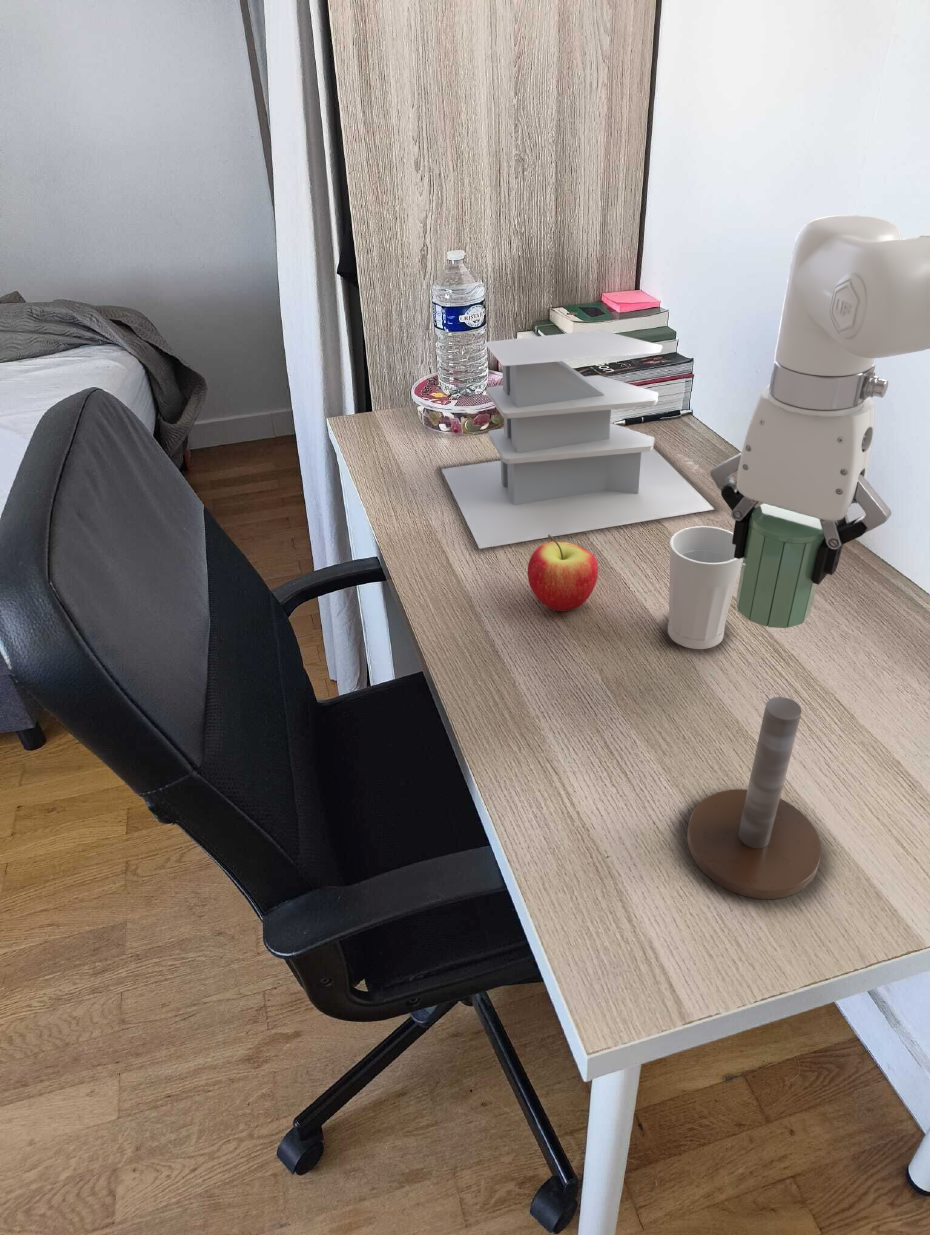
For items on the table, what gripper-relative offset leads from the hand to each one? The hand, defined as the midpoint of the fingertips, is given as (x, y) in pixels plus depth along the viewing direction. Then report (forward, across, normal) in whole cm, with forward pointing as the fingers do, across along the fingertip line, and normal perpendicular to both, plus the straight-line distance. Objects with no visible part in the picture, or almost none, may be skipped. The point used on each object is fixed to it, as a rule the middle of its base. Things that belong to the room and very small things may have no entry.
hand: (781, 563), depth 80 cm
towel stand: (+16, -8, +19) cm, 26 cm away
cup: (+17, +10, -6) cm, 20 cm away
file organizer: (+17, +42, -28) cm, 53 cm away
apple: (+17, +26, -2) cm, 31 cm away
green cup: (+5, 0, 0) cm, 5 cm away
